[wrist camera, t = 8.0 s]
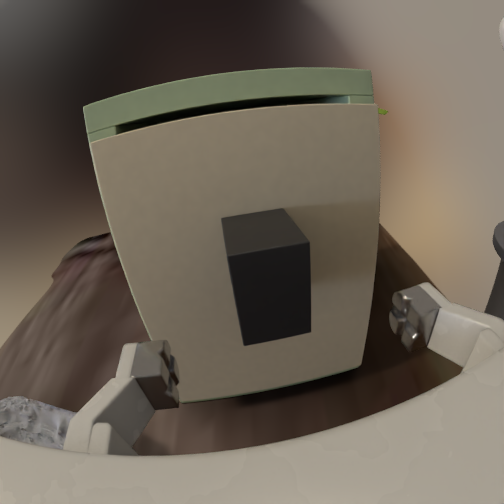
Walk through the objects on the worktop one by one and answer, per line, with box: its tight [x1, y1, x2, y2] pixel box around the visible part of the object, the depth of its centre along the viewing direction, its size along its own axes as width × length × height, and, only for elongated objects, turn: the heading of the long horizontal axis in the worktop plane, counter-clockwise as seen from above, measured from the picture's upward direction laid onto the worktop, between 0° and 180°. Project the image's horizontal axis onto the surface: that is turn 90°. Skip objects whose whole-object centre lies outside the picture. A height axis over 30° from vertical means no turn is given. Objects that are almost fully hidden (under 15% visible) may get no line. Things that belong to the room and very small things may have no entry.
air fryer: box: [83, 68, 374, 403], centre depth 23 cm, size 14×15×23 cm
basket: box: [90, 104, 380, 402], centre depth 20 cm, size 17×14×18 cm
